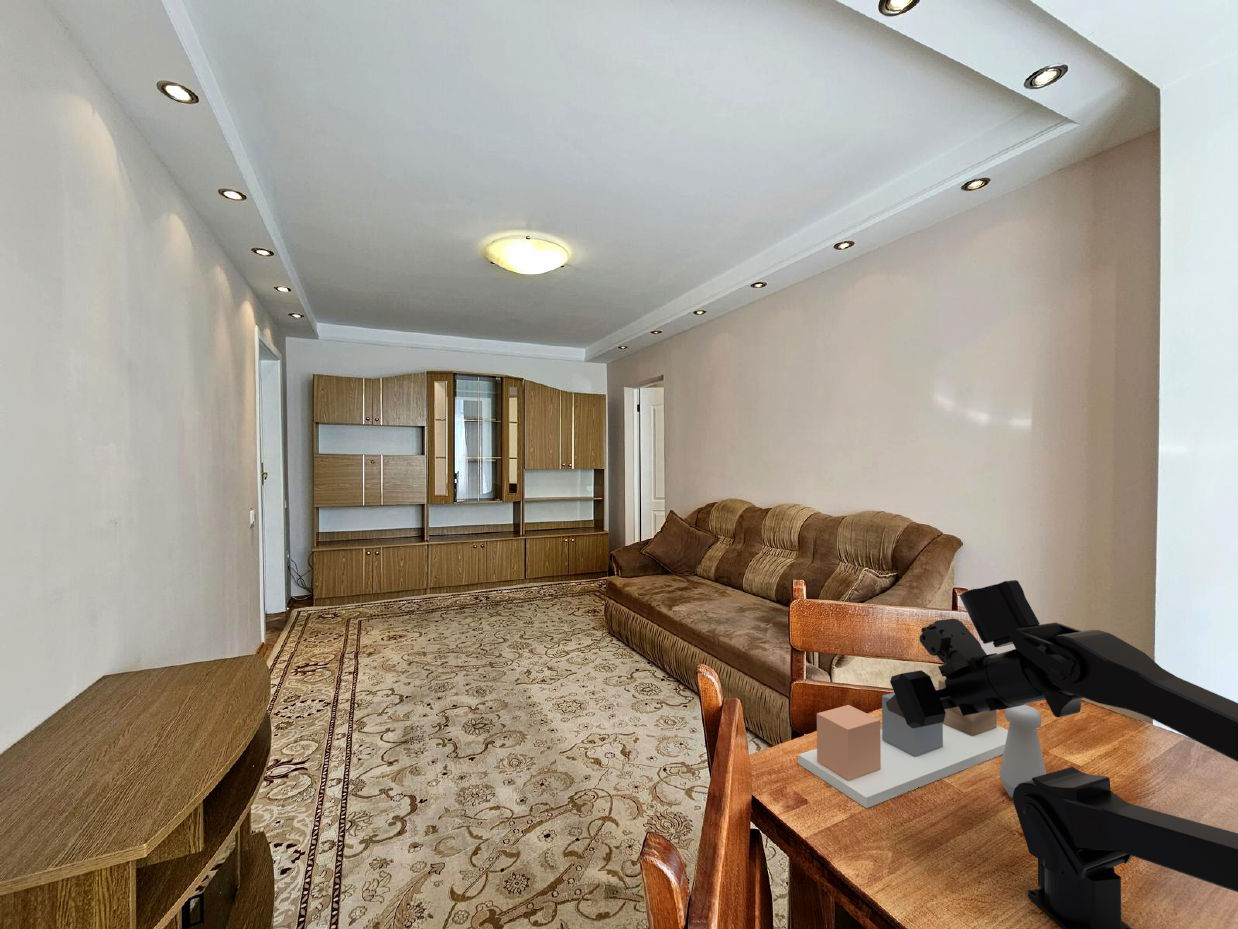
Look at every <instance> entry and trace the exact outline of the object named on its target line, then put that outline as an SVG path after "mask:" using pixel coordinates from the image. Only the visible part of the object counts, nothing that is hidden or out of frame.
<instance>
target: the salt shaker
mask: <svg viewBox="0 0 1238 929" xmlns="http://www.w3.org/2000/svg"><path fill="white" fill-rule="evenodd" d="M1004 717H1005V720H1006V722H1008V723H1009V725H1008V729H1007V730H1008V734H1007V739H1006V744H1005V749H1004V754H1002V759H1001V764H1000V769H999V774H998V775H999V780H1000V782H1001V784H1002V786H1003V787H1004V789H1005V792H1006V793H1007V794H1008V798H1011V799H1012V800H1013V793H1014V789H1015V788H1016V787H1017V785H1018V784H1019V783H1023V782H1026V781H1030V780H1032V778H1033V777H1037V776H1041V775H1044V774H1047V772H1046V771H1047V770H1046V767H1045V766H1046V765H1045V762H1044V756H1043V753H1042V749H1041V743H1040V740H1039V735H1038V730H1037V729H1040V728H1041V726H1042V715H1041V712H1040V711H1038V710H1037V709H1036V708H1035V707H1032V706H1030V705H1027V704H1024V705H1021V706H1017V707H1012V708H1007V709H1004Z"/></svg>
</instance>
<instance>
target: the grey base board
mask: <svg viewBox="0 0 1238 929" xmlns="http://www.w3.org/2000/svg"><path fill="white" fill-rule="evenodd" d="M1007 734H1008V729H1006V728H1004V727H1002V726H999V725H997V727H996V728H994V729H991V730H988V731H985V732H982V733H980V734H977V735H974V736H971V735H969V734H966V733H964V732H962V731H959V730H957V729H955V728H952V727H950V726H948V725H945V724H943V747H941V748H938V749H935V750H932V751H929V752H927V753H924V754H921V755H918V756H913V755H911V754H909V753H907V752H905V751H903V750H901V749H899V748H897V747H895V746H893V745H891V744H889V743H887V742H885V741H883V740H882V728H880V741H881V769H879V770H876V771H874V772H871V773H868V774H865V775H862V776H860V777H857V778H854V779H851V780H846V779H845V778H843V777H842V776H840V775H838V774H837V773H835V772H834V771H832V770H830V769H829V768H827V767H826V766H824V765H822V764H821V763H819V762H818V761H817V748H813V749H812V750H808V751H806V752H801V753H799V754H798V756H797V758H798V759H797V760H798V764H799V765H800V766H801V767H803V768H804V769H806V770H807V771H809V772H811V773H812V774H813V775H815V776H816V777H818V778H819V779H821V780H823V781H824V782H825V783H827V784H828V785H830V786H832V787H833V788H834V789H837V790H838V791H839V792H841V793H842V794H844V795H845V796H846V797H848V798H850V799H851V800H853V801H854V802H856V803H857V804H859V805H861V806H862V807H863V808H865V809H868V808H871V807H873V806H876V805H879V804H882V803H883V802H886V801H888V800H891V799H894V798H897V797H899V796H902V795H904V794H907V793H909V792H911V791H913V790H916V789H918V787H919V788H922V787H924V786H926V785H929V784H931V783H934V782H936V781H939V780H942V779H944V778H946V777H949V776H952V775H955V774H956V773H957V774H958V773H959V772H961V771H964V770H966V769H969V768H971V767H974V766H976V765H980V764H982V763H984V762H987V761H989V760H991V759H994V758H997V757H999V756H1001V755H1002V756H1003V754H1004V749H1005V744H1006V739H1007ZM908 791H909V792H908Z"/></svg>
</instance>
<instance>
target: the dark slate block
mask: <svg viewBox="0 0 1238 929" xmlns="http://www.w3.org/2000/svg"><path fill="white" fill-rule="evenodd" d="M894 695H895V693H894V692H890V693H885V694H883V695H881V726H882V727H881V729H882V740H883V741H885V742H887V743H889V744H891V745H893V746H895V747H897V748H899V749H901V750H903V751H905V752H907V753H909V754H911V755H913V756H918V755H921V754H924V753H927V752H929V751H932V750H935V749H938V748H941V747H943V722H942V723H938V724H933V725H928V726H924V727H918V728H913V729H912V728H911V727H910V726H908V725H907V723H906V720H905V718H903V717H901V716H899V715H897V714H895V713H892V712H890V711H889V710H888V708H887V706H886V702H887V701H888V700H889V699H890V698H891V697H893V696H894Z"/></svg>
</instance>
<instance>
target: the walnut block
mask: <svg viewBox="0 0 1238 929" xmlns="http://www.w3.org/2000/svg"><path fill="white" fill-rule="evenodd" d="M945 679H946V677H944V678H942V679H938V682H937V684H938V690H940V689H943V688H945V687H946V686H945ZM944 710H945V712H946V715H945V719H944V722H943V724H945V725H948V726H950V727H952V728H955V729H957V730H959V731H962V732H964V733H966V734H969V735H971V736H974V735H977V734H980V733H982V732H985V731H988V730H991V729H994V728H996V727H997V726H998V725H997V710H993V711H985V712H980V713H975V714H970V715H965V716H963V715H962V713H961V710H960V708H959V707H954V708H949V709H944Z"/></svg>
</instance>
